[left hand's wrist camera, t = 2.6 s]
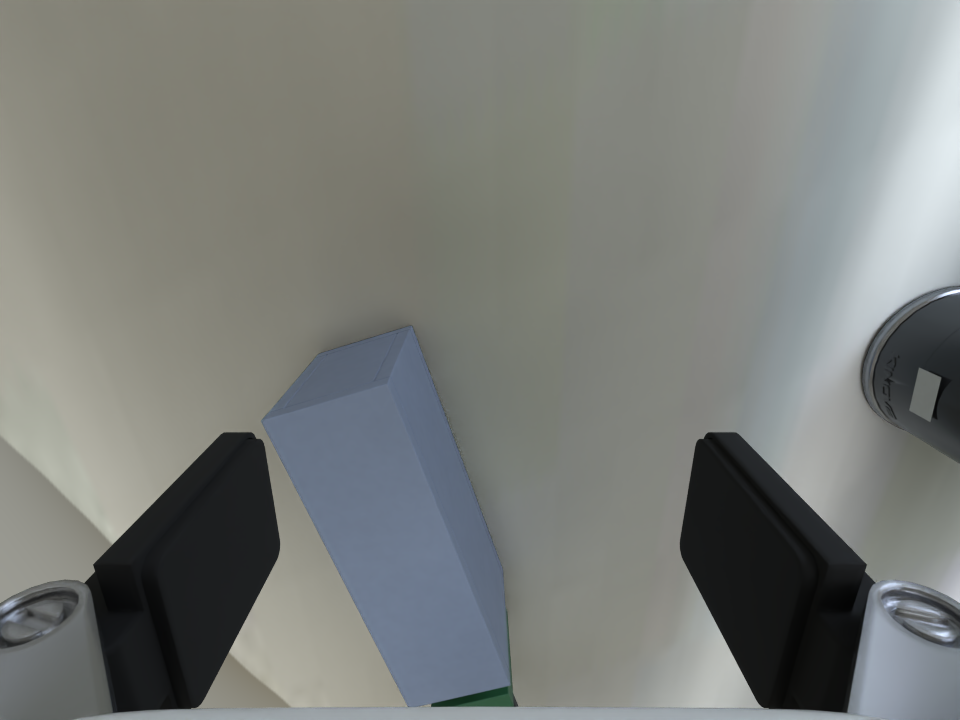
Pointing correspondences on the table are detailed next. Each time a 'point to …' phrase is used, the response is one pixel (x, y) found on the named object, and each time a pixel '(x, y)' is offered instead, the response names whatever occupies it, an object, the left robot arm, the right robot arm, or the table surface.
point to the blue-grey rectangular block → (397, 514)
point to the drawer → (486, 693)
